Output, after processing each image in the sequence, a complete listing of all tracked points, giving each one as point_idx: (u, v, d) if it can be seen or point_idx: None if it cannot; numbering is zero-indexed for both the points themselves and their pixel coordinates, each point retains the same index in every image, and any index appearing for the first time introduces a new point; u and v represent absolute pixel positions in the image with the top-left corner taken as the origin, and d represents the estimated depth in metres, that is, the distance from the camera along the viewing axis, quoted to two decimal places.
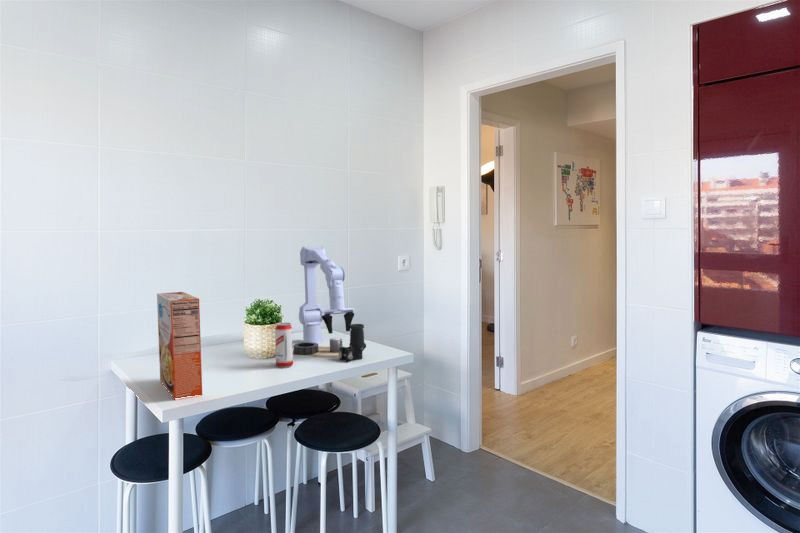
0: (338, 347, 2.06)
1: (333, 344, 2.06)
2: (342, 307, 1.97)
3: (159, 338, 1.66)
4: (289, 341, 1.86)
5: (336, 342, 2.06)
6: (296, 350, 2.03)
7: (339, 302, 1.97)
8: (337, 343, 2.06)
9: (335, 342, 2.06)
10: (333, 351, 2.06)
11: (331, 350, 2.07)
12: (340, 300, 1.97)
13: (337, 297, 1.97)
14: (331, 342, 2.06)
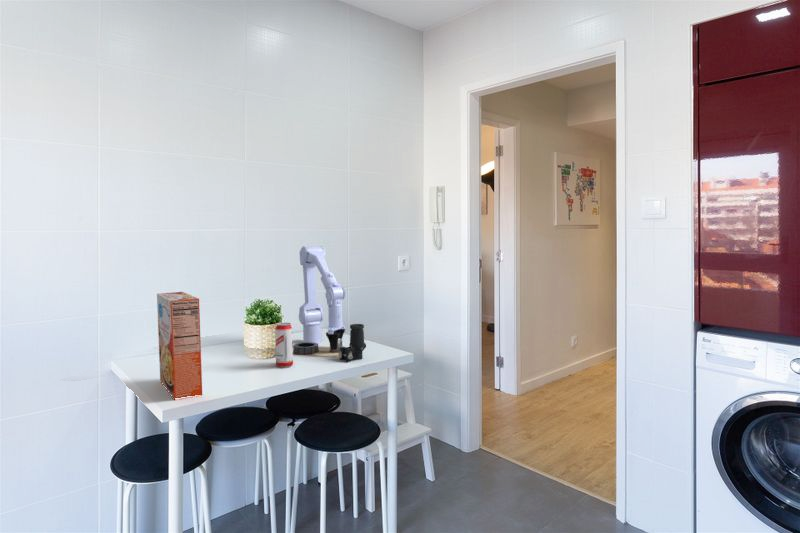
0: (338, 347, 2.06)
1: None
2: (342, 324, 2.08)
3: (159, 338, 1.66)
4: (289, 341, 1.86)
5: None
6: (296, 350, 2.03)
7: None
8: None
9: None
10: (333, 351, 2.06)
11: (331, 350, 2.07)
12: (341, 318, 2.07)
13: (341, 315, 2.06)
14: None
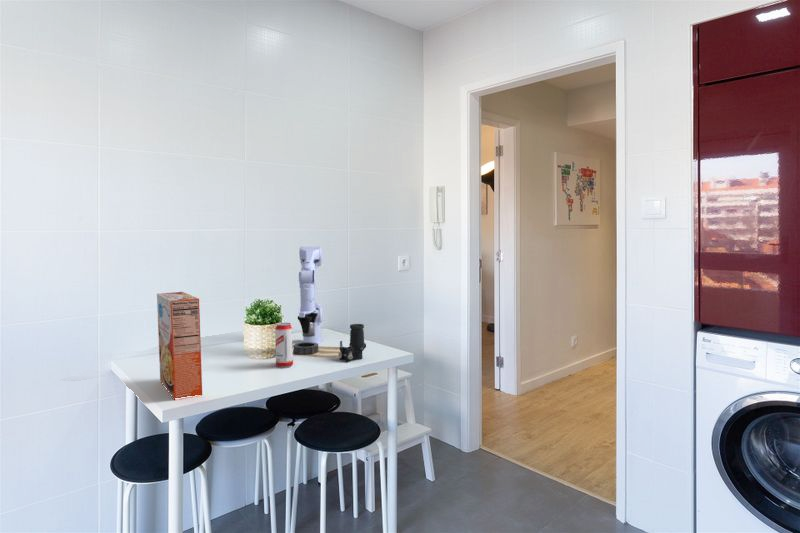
0: (311, 331, 2.05)
1: None
2: (314, 308, 2.07)
3: (159, 338, 1.66)
4: (289, 341, 1.86)
5: None
6: (296, 350, 2.03)
7: (314, 304, 2.06)
8: (310, 327, 2.05)
9: None
10: (306, 335, 2.05)
11: (304, 334, 2.05)
12: (313, 301, 2.06)
13: (313, 299, 2.05)
14: None
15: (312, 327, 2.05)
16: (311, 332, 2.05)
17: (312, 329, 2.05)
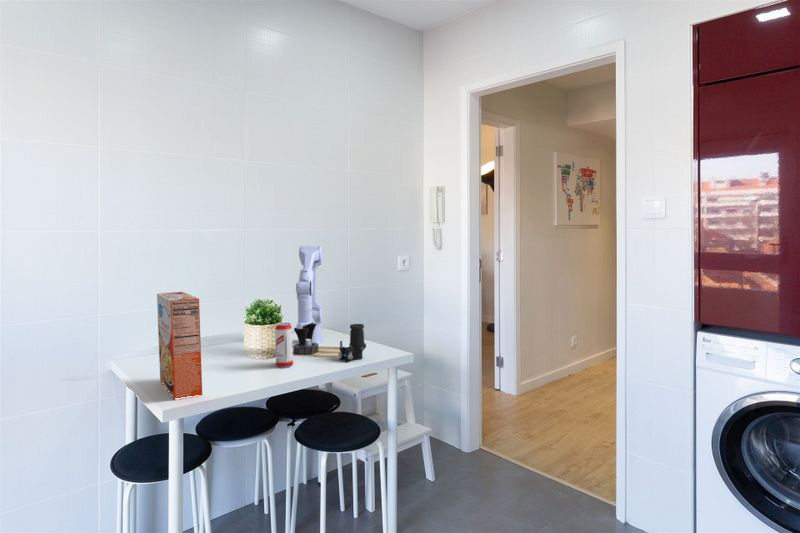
0: None
1: (303, 345, 2.05)
2: (312, 319, 2.07)
3: (159, 338, 1.66)
4: (289, 341, 1.86)
5: (306, 343, 2.05)
6: (296, 350, 2.03)
7: (311, 315, 2.06)
8: (307, 344, 2.05)
9: (305, 343, 2.05)
10: None
11: None
12: (311, 313, 2.06)
13: (310, 310, 2.05)
14: None
15: (309, 344, 2.06)
16: None
17: None
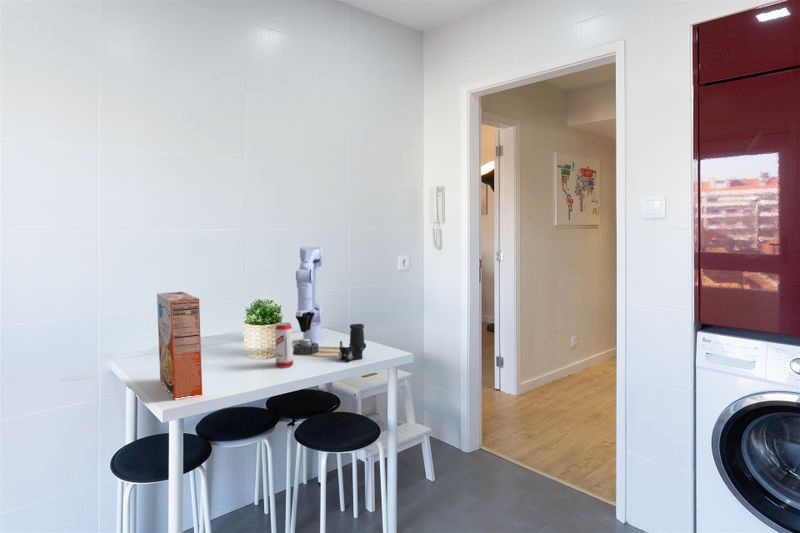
0: None
1: (303, 345, 2.05)
2: (312, 307, 2.07)
3: (159, 338, 1.66)
4: (289, 341, 1.86)
5: (306, 343, 2.05)
6: (296, 350, 2.03)
7: (311, 303, 2.06)
8: (307, 344, 2.05)
9: (305, 343, 2.05)
10: None
11: None
12: (311, 300, 2.06)
13: (310, 298, 2.05)
14: (301, 343, 2.05)
15: (309, 344, 2.06)
16: None
17: None
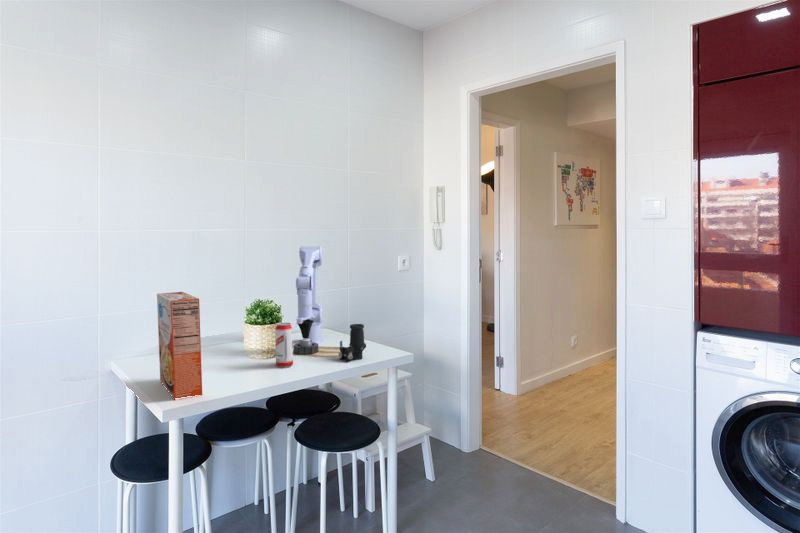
0: None
1: (303, 345, 2.05)
2: (312, 314, 2.07)
3: (159, 338, 1.66)
4: (289, 341, 1.86)
5: (306, 343, 2.05)
6: (296, 350, 2.03)
7: (311, 310, 2.06)
8: (307, 344, 2.05)
9: (305, 343, 2.05)
10: None
11: None
12: (311, 308, 2.06)
13: (310, 305, 2.05)
14: (301, 343, 2.05)
15: (309, 344, 2.06)
16: None
17: None
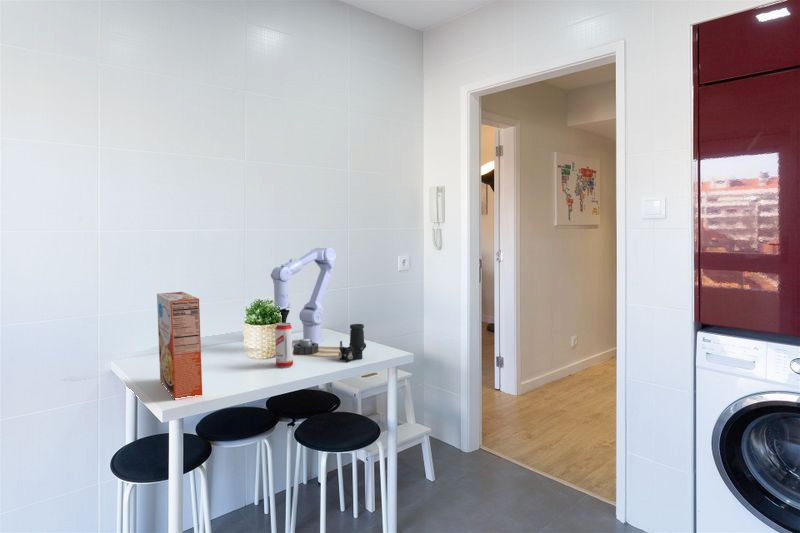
0: None
1: (303, 345, 2.05)
2: (288, 304, 2.13)
3: (159, 338, 1.66)
4: (289, 341, 1.86)
5: (306, 343, 2.05)
6: (296, 350, 2.03)
7: (287, 300, 2.12)
8: (307, 344, 2.05)
9: (305, 343, 2.05)
10: None
11: None
12: (287, 298, 2.12)
13: (286, 295, 2.11)
14: (301, 343, 2.05)
15: (309, 344, 2.06)
16: None
17: None
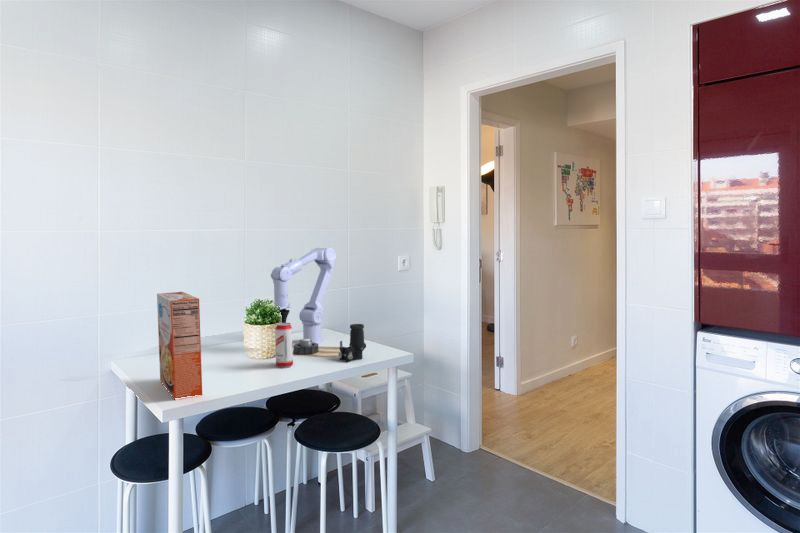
0: None
1: (303, 345, 2.05)
2: (288, 304, 2.13)
3: (159, 338, 1.66)
4: (289, 341, 1.86)
5: (306, 343, 2.05)
6: (296, 350, 2.03)
7: (287, 300, 2.12)
8: (307, 344, 2.05)
9: (305, 343, 2.05)
10: None
11: None
12: (287, 298, 2.12)
13: (286, 295, 2.11)
14: (301, 343, 2.05)
15: (309, 344, 2.06)
16: None
17: None
